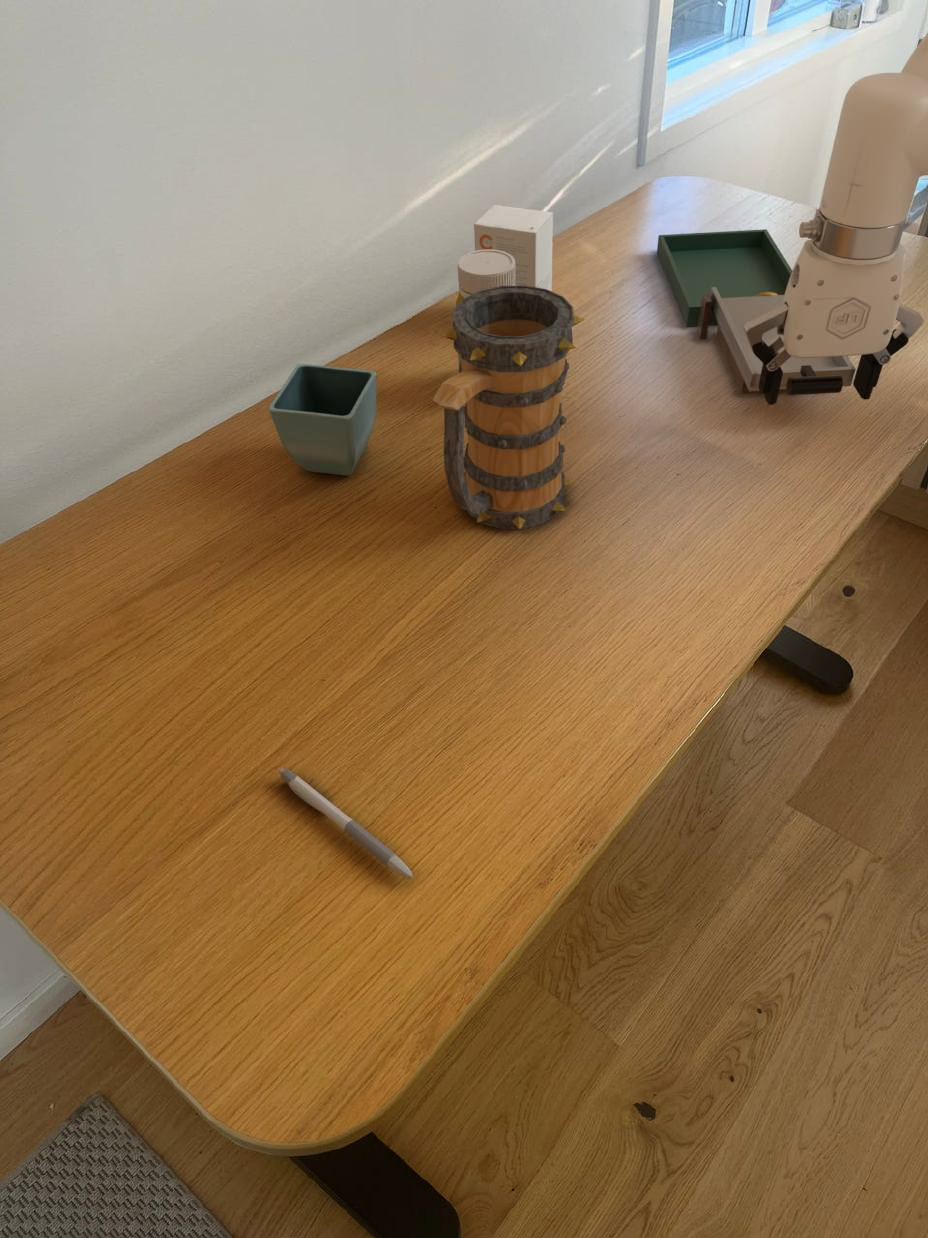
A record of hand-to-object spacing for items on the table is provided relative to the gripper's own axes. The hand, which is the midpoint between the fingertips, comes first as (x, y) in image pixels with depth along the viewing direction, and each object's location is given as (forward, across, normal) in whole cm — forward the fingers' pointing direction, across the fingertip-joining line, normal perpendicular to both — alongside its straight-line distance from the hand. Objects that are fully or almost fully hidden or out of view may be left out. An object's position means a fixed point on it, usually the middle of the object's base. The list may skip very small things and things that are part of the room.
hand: (814, 395), depth 95 cm
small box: (+5, -29, +29) cm, 41 cm away
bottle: (+5, -34, +13) cm, 36 cm away
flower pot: (+4, -51, -1) cm, 51 cm away
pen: (+4, -47, -46) cm, 66 cm away
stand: (+5, 0, +16) cm, 16 cm away
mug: (+5, -34, -10) cm, 35 cm away
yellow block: (+2, +1, +26) cm, 26 cm away
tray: (+5, 0, +35) cm, 35 cm away
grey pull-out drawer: (+1, 0, +11) cm, 11 cm away
